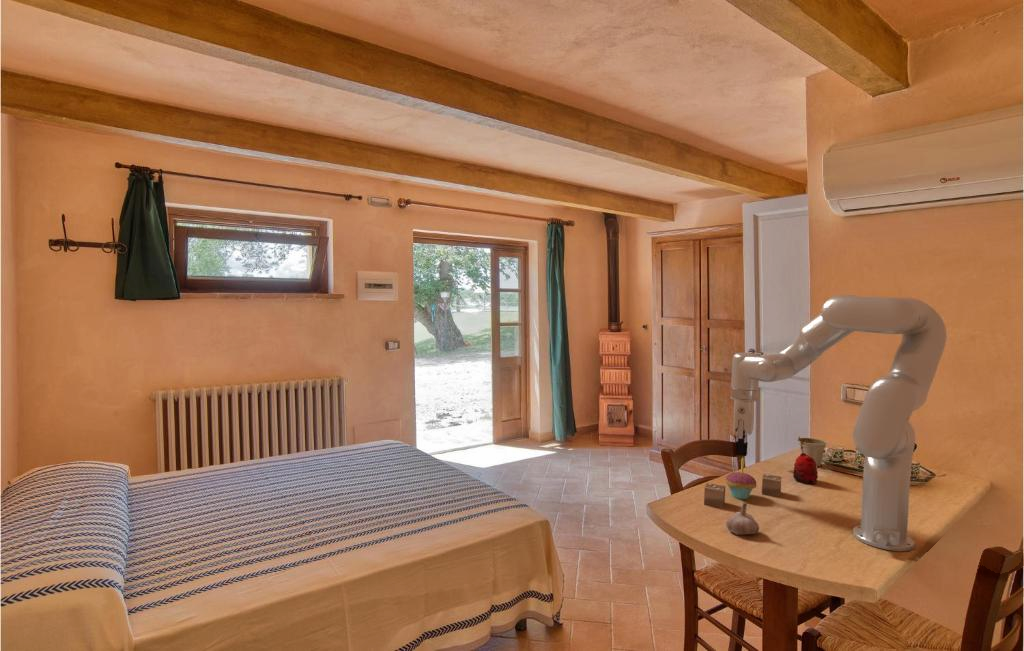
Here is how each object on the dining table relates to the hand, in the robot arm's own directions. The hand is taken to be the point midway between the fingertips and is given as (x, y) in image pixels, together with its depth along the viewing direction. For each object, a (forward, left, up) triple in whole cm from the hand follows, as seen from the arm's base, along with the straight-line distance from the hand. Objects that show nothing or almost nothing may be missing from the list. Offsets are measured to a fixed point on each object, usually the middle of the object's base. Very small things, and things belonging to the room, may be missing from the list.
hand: (740, 454), depth 162 cm
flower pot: (+48, -19, -13) cm, 53 cm away
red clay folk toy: (+26, -17, -13) cm, 34 cm away
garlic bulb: (-27, -3, -13) cm, 30 cm away
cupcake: (0, 0, -13) cm, 13 cm away
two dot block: (+8, -8, -13) cm, 17 cm away
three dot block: (-10, +6, -13) cm, 17 cm away
